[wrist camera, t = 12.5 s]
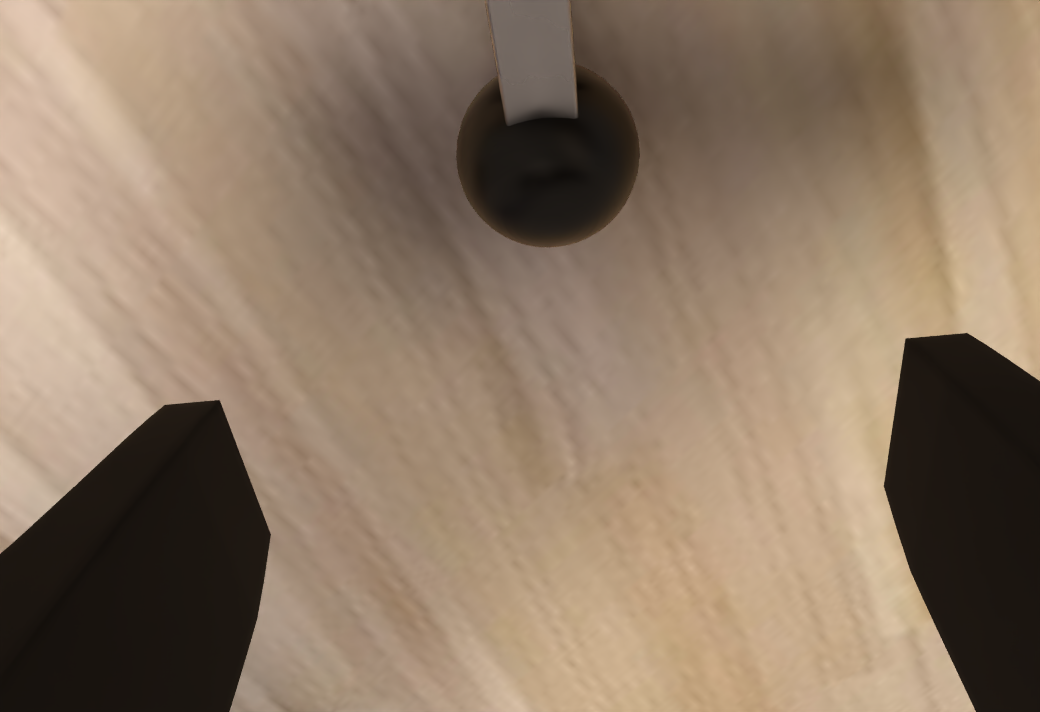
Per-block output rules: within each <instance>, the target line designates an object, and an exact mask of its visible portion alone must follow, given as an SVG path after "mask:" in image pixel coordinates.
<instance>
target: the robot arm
mask: <svg viewBox="0 0 1040 712" xmlns="http://www.w3.org/2000/svg"><path fill="white" fill-rule="evenodd" d="M884 488H885V491H886V495H887V498H888V501H889V505H890V508H891V511H892V515H893V518H894V521H895V525H896V528H897V531H898V534H899V537H900V540H901V543H902V546H903V550H904V553H905V556H906V559H907V562H908V565H909V568H910V571H911V573H912V575H913V578H914V580H915V582H916V584H917V587H918V589H919V591H920V593H921V595H922V598H923V600H924V602H925V604H926V606H927V608H928V610H929V613H930V615H931V617H932V619H933V621H934V623H935V626H936V628H937V630H938V632H939V634H940V636H941V638H942V641H943V643H944V645H945V647H946V649H947V651H948V653H949V655H950V658H951V660H952V662H953V664H954V666H955V668H956V670H957V672H958V674H959V677H960V679H961V681H962V683H963V685H964V687H965V689H966V691H967V693H968V696H969V698H970V700H971V702H972V704H973V706H974V708H975V710H976V712H1040V381H1039V380H1037V379H1036V378H1034V377H1033V376H1031V375H1030V374H1029V373H1027V372H1026V371H1024V370H1023V369H1021V368H1020V367H1018V366H1017V365H1015V364H1014V363H1012V362H1011V361H1010V360H1008V359H1007V358H1005V357H1004V356H1002V355H1001V354H999V353H998V352H996V351H995V350H993V349H992V348H990V347H989V346H987V345H986V344H984V343H982V342H981V341H979V340H978V339H976V338H974V337H973V336H971V335H970V334H968V333H963V334H952V335H940V336H929V337H918V338H907V339H905V346H904V353H903V360H902V366H901V373H900V380H899V387H898V394H897V401H896V407H895V414H894V421H893V428H892V435H891V441H890V448H889V455H888V462H887V469H886V476H885V482H884ZM270 536H271V534H270V531H269V529H268V526H267V523H266V521H265V518H264V515H263V513H262V510H261V508H260V505H259V502H258V500H257V497H256V494H255V492H254V489H253V487H252V484H251V481H250V479H249V476H248V473H247V471H246V468H245V466H244V463H243V460H242V458H241V455H240V453H239V450H238V447H237V445H236V442H235V439H234V437H233V434H232V432H231V429H230V426H229V424H228V421H227V418H226V416H225V413H224V411H223V408H222V405H221V403H220V400H215V401H204V402H193V403H182V404H171V405H164V406H163V407H162V408H161V409H160V410H158V411H157V412H156V413H155V414H153V415H152V416H151V417H150V418H149V419H147V420H146V421H145V422H144V423H143V424H142V425H141V426H139V427H138V428H137V429H136V430H135V431H134V432H133V433H132V434H131V435H129V436H128V437H127V438H126V439H125V440H124V441H123V442H122V443H121V444H120V445H119V446H117V447H116V448H115V449H114V450H113V451H112V452H111V453H110V454H109V455H108V456H107V457H106V458H105V459H104V460H102V461H101V462H100V463H99V464H98V465H97V466H96V467H95V468H94V469H93V470H92V471H91V472H90V473H89V474H87V475H86V476H85V477H84V478H83V479H82V480H81V481H80V482H79V483H78V484H77V485H76V486H75V487H73V488H72V489H71V490H70V491H69V492H68V493H67V494H66V495H65V496H64V497H63V498H62V499H60V500H59V501H58V502H57V503H56V504H55V505H54V506H53V507H52V508H51V509H50V510H48V511H47V512H46V513H45V514H44V515H43V516H42V517H41V518H40V519H39V520H38V521H37V522H35V523H34V524H33V525H32V526H31V527H30V528H29V529H28V530H27V531H26V532H25V533H23V534H22V535H21V536H20V537H19V538H18V539H17V540H16V541H15V542H14V543H12V544H11V545H10V546H9V547H8V548H7V549H5V550H4V551H3V552H2V553H1V554H0V712H229V711H230V708H231V705H232V702H233V698H234V695H235V692H236V689H237V685H238V682H239V679H240V675H241V672H242V669H243V665H244V662H245V659H246V655H247V652H248V649H249V645H250V642H251V639H252V635H253V632H254V628H255V625H256V621H257V617H258V611H259V606H260V600H261V594H262V589H263V583H264V577H265V570H266V563H267V557H268V550H269V543H270Z"/></svg>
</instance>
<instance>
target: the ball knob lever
mask: <svg viewBox="0 0 1040 712" xmlns="http://www.w3.org/2000/svg"><path fill="white" fill-rule="evenodd" d="M485 5H486V11H487V17H488V23H489V28H490V34H491V40H492V46H493V52H494V57H495V63H496V69H497V75H498V76H496V77H495V78H494V79H493V80H491V81H490V82H489V83H488V84H487V85H486V86H484V87H483V88H482V90H481V91H480V92H479V93H478V94H477V95H476V97H475V98H474V100H473V101H472V103H471V104H470V106H469V107H468V109H467V111H466V114H465V116H464V118H463V120H462V123H461V126H460V130H459V134H458V139H457V150H456V160H457V169H458V175H459V179H460V182H461V185H462V188H463V191H464V193H465V195H466V197H467V199H468V201H469V203H470V204H471V206H472V207H473V209H474V210H475V212H476V213H477V214H478V215H479V216H480V218H481V219H482V220H483V221H484V222H485V223H486V224H488V225H489V226H490V227H491V228H492V229H494V230H495V231H497V232H498V233H500V234H501V235H503V236H505V237H506V238H508V239H511V240H513V241H516V242H519V243H522V244H525V245H529V246H534V247H560V246H566V245H570V244H573V243H577V242H579V241H582V240H584V239H586V238H588V237H590V236H592V235H594V234H595V233H597V232H598V231H600V230H601V229H603V228H604V227H605V226H606V225H607V224H608V223H610V222H611V221H612V220H613V219H614V218H615V217H616V215H617V214H618V213H619V211H620V210H621V209H622V207H623V206H624V205H625V203H626V201H627V199H628V197H629V195H630V193H631V191H632V189H633V186H634V183H635V180H636V176H637V173H638V166H639V156H640V153H639V139H638V134H637V129H636V126H635V123H634V120H633V117H632V115H631V113H630V111H629V109H628V107H627V105H626V103H625V102H624V100H623V99H622V97H621V96H620V95H619V94H618V92H617V91H616V90H615V89H614V88H613V87H612V86H611V85H610V84H609V83H608V82H607V81H606V80H604V79H603V78H602V77H600V76H599V75H597V74H596V73H594V72H592V71H590V70H589V69H587V68H585V67H582V66H579V65H577V64H575V57H574V43H573V30H572V16H571V3H570V0H485Z"/></svg>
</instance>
